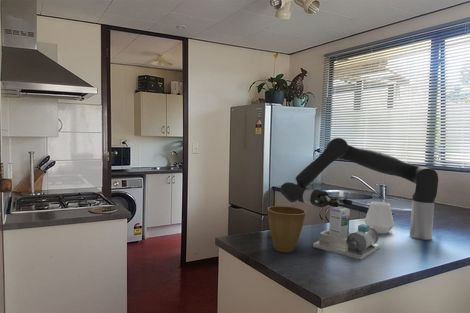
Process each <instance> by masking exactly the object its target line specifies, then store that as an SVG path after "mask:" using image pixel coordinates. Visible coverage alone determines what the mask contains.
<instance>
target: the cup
mask: <svg viewBox="0 0 470 313" xmlns="http://www.w3.org/2000/svg"><path fill="white" fill-rule="evenodd" d="M364 223H365V225H369V227H371V228H373V229H375V230H376V231H377V233H378V234H382V233H386V234H389V233H390V232H391V230H392V229H393V227H394V226H395V223H394V218H393V213H392V208H391V204H390V203H388V202H384V201H371V202H370V204H369V207H368V209H367V213H366V216H365V219H364Z"/></svg>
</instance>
